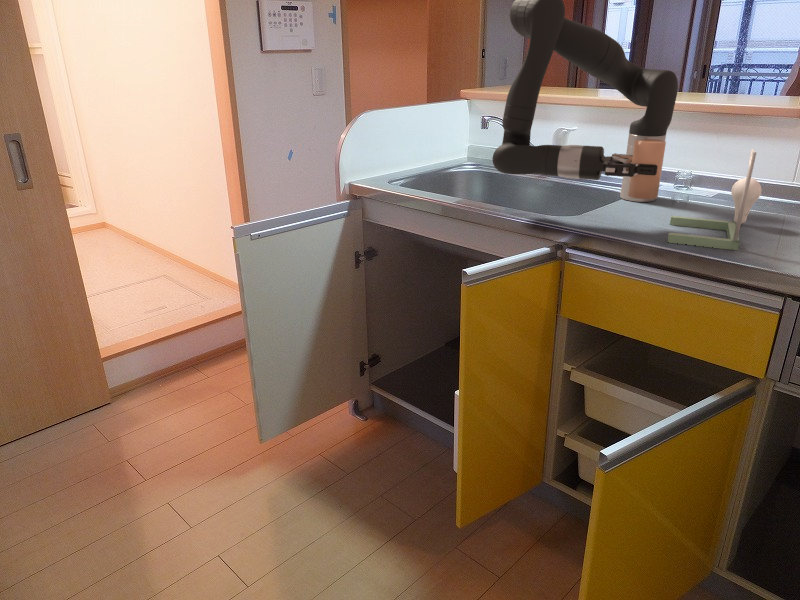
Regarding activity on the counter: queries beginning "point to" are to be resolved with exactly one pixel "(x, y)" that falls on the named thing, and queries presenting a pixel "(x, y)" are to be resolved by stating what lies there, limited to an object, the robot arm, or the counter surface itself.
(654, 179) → the peach cylinder
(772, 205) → the counter surface
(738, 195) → the lightbulb
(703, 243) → the green u-shaped stand
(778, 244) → the counter surface
